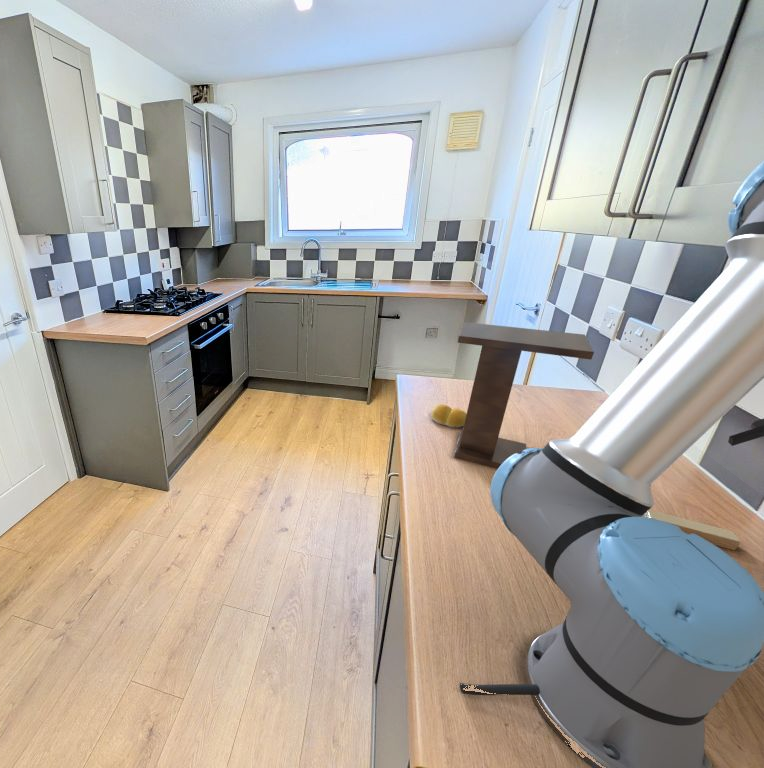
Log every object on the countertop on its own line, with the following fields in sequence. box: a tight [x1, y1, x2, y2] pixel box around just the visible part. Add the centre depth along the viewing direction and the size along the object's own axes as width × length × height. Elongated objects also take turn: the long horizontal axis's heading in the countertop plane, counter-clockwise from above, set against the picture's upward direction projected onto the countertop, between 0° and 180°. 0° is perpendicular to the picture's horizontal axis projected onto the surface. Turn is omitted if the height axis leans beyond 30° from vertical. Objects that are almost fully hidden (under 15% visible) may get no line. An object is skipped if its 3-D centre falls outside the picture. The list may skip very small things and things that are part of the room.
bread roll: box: [429, 403, 467, 429], centre depth 105 cm, size 8×9×4 cm
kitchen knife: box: [642, 509, 741, 551], centre depth 73 cm, size 30×3×2 cm, turn 58°
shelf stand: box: [453, 321, 595, 470], centre depth 86 cm, size 22×12×29 cm, turn 59°
